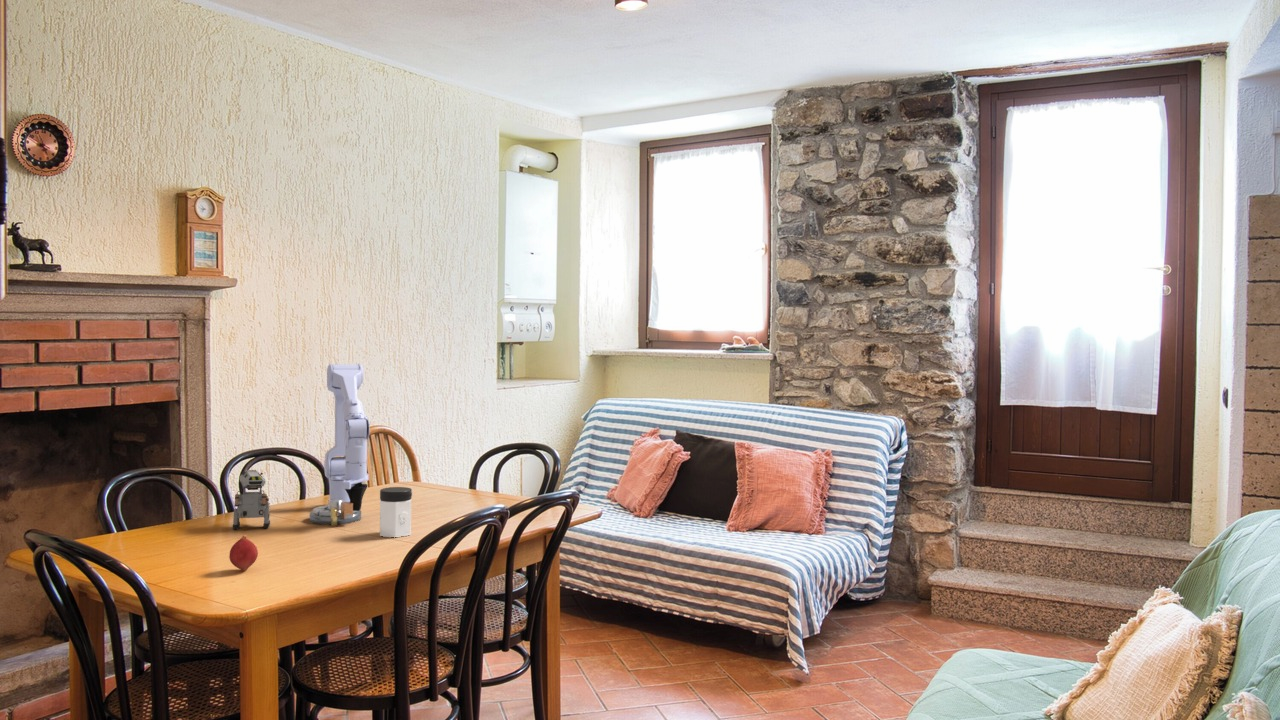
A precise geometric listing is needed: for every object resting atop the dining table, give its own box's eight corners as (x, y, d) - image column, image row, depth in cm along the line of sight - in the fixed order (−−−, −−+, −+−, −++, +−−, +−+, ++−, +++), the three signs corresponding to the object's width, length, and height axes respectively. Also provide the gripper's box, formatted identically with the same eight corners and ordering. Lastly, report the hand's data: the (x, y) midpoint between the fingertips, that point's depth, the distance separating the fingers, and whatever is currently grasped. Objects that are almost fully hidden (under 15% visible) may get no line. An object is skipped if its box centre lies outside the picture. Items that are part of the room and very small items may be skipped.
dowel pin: (332, 525, 252) (332, 507, 251) (337, 525, 252) (338, 507, 251) (330, 526, 250) (330, 508, 250) (335, 526, 250) (336, 508, 250)
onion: (224, 573, 201) (224, 537, 200) (237, 567, 206) (237, 532, 206) (250, 574, 200) (250, 538, 200) (262, 567, 206) (262, 532, 206)
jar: (387, 539, 236) (388, 493, 236) (372, 534, 242) (373, 489, 242) (418, 534, 242) (419, 489, 242) (403, 529, 248) (403, 485, 248)
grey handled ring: (308, 510, 260) (308, 496, 260) (348, 506, 267) (348, 492, 267) (327, 520, 247) (327, 505, 247) (369, 515, 254) (369, 501, 254)
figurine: (272, 521, 255) (273, 468, 255) (267, 530, 244) (267, 474, 244) (237, 522, 253) (237, 469, 253) (230, 531, 242) (230, 475, 242)
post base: (320, 514, 266) (320, 495, 266) (367, 515, 266) (367, 496, 266) (301, 524, 252) (301, 504, 252) (351, 525, 252) (352, 505, 252)
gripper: (351, 457, 261) (351, 504, 262) (331, 465, 247) (331, 515, 247) (376, 458, 261) (375, 505, 261) (357, 466, 246) (356, 516, 247)
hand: (355, 510), depth 254 cm, fingers closed, pressing on grey handled ring
